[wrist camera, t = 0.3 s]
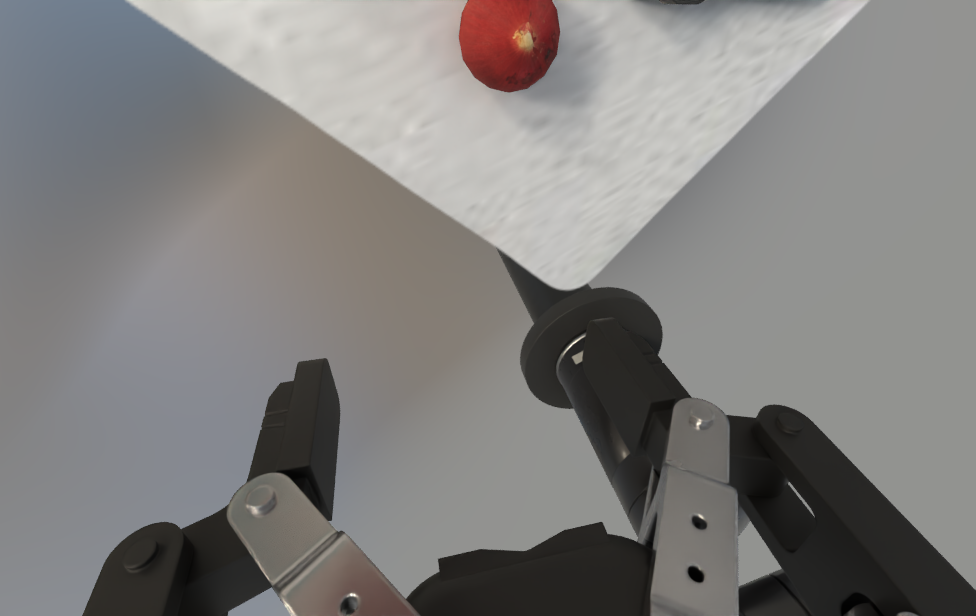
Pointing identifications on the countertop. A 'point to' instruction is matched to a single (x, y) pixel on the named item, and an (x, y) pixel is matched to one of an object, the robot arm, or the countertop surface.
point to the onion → (509, 41)
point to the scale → (681, 1)
